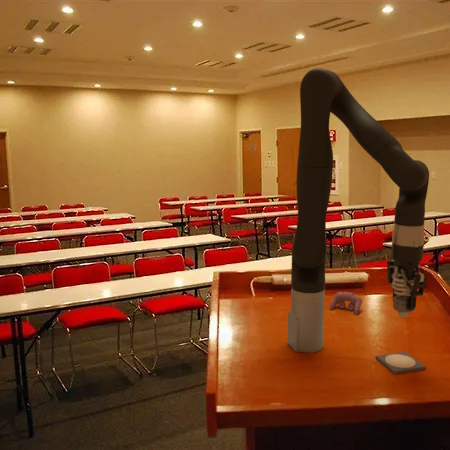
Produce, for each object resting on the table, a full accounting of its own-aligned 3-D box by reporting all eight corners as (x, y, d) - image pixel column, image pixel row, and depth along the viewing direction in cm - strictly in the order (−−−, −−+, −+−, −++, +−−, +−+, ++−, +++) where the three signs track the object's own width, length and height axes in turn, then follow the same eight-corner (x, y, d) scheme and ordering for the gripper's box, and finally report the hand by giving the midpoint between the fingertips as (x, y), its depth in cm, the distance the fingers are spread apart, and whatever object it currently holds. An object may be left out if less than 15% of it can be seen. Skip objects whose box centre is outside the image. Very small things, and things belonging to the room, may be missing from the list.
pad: (394, 374, 135) (394, 371, 135) (375, 358, 143) (375, 355, 143) (425, 369, 137) (425, 366, 137) (405, 354, 146) (405, 351, 145)
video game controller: (360, 316, 176) (364, 295, 178) (357, 314, 173) (361, 293, 174) (332, 310, 181) (336, 290, 183) (328, 308, 178) (332, 288, 179)
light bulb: (418, 317, 138) (421, 272, 135) (408, 324, 134) (411, 278, 131) (397, 312, 141) (400, 268, 139) (387, 318, 137) (390, 273, 135)
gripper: (378, 236, 139) (375, 297, 143) (411, 249, 125) (407, 317, 129) (404, 233, 141) (400, 294, 144) (439, 247, 127) (434, 314, 131)
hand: (403, 305), depth 137 cm, fingers closed on light bulb, 5 cm apart
